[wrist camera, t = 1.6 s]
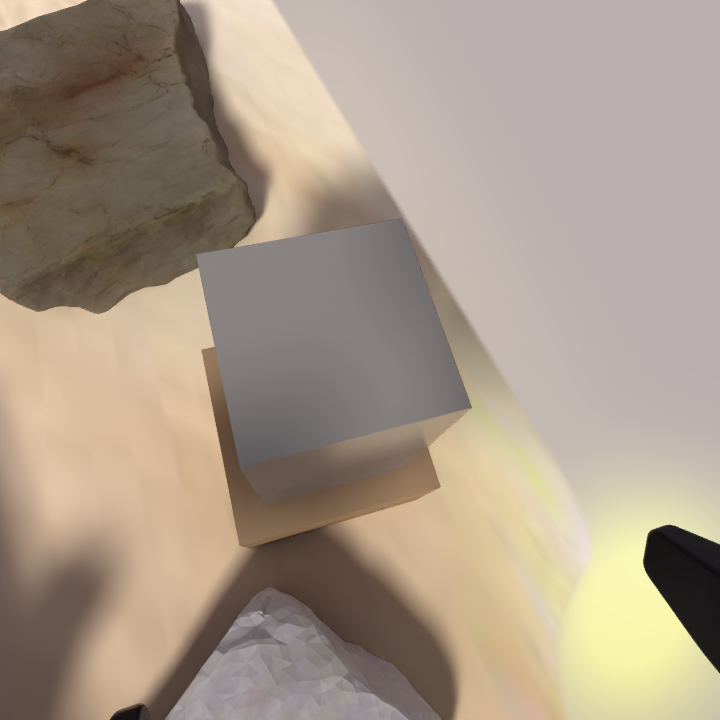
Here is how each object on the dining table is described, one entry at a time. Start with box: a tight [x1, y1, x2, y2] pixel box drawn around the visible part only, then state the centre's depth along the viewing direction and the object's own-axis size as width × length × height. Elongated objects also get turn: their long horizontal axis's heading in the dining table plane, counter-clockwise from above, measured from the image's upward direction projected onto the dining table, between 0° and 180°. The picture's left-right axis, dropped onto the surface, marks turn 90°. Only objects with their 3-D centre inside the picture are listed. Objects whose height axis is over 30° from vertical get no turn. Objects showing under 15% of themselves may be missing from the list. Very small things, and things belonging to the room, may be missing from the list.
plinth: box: [202, 347, 440, 548], centre depth 20 cm, size 7×7×4 cm
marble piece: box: [0, 0, 256, 314], centre depth 24 cm, size 17×15×4 cm
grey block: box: [196, 219, 472, 506], centre depth 15 cm, size 5×5×8 cm
